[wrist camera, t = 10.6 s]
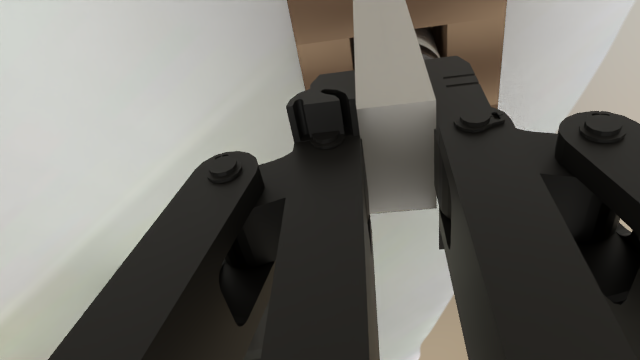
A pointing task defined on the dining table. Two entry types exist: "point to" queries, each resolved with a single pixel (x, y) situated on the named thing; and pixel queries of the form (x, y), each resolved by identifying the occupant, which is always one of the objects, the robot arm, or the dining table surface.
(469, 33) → the wooden jar holder
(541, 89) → the dining table surface
